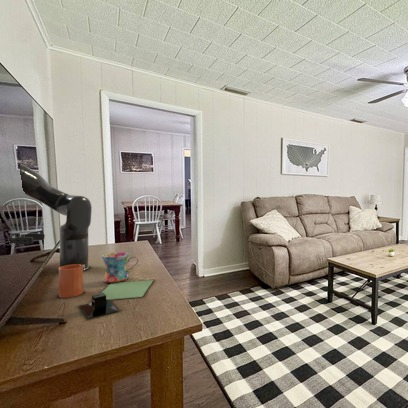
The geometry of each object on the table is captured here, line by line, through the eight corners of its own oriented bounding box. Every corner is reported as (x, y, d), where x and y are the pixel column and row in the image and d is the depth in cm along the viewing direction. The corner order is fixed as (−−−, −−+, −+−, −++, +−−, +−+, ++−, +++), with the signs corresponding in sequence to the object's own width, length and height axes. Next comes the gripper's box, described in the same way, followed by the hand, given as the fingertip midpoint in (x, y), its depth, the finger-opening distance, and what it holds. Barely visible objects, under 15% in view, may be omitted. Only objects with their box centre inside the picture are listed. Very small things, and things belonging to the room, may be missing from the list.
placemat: (111, 283, 111) (111, 282, 111) (153, 280, 117) (153, 280, 117) (92, 301, 95) (92, 300, 95) (142, 297, 100) (142, 296, 100)
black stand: (80, 306, 91) (80, 292, 91) (108, 300, 97) (108, 287, 96) (88, 319, 83) (88, 303, 83) (119, 311, 89) (119, 297, 89)
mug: (99, 285, 108) (99, 258, 107) (103, 279, 115) (103, 253, 115) (137, 281, 114) (138, 255, 114) (138, 275, 122) (139, 251, 122)
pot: (64, 292, 101) (64, 264, 100) (86, 290, 104) (86, 263, 103) (54, 298, 95) (54, 269, 95) (78, 296, 98) (78, 268, 97)
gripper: (-49, 227, 81) (30, 230, 89) (-18, 222, 94) (48, 225, 102) (-52, 253, 81) (27, 253, 89) (-21, 244, 94) (46, 246, 102)
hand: (38, 238), depth 96 cm, fingers open, 8 cm apart
